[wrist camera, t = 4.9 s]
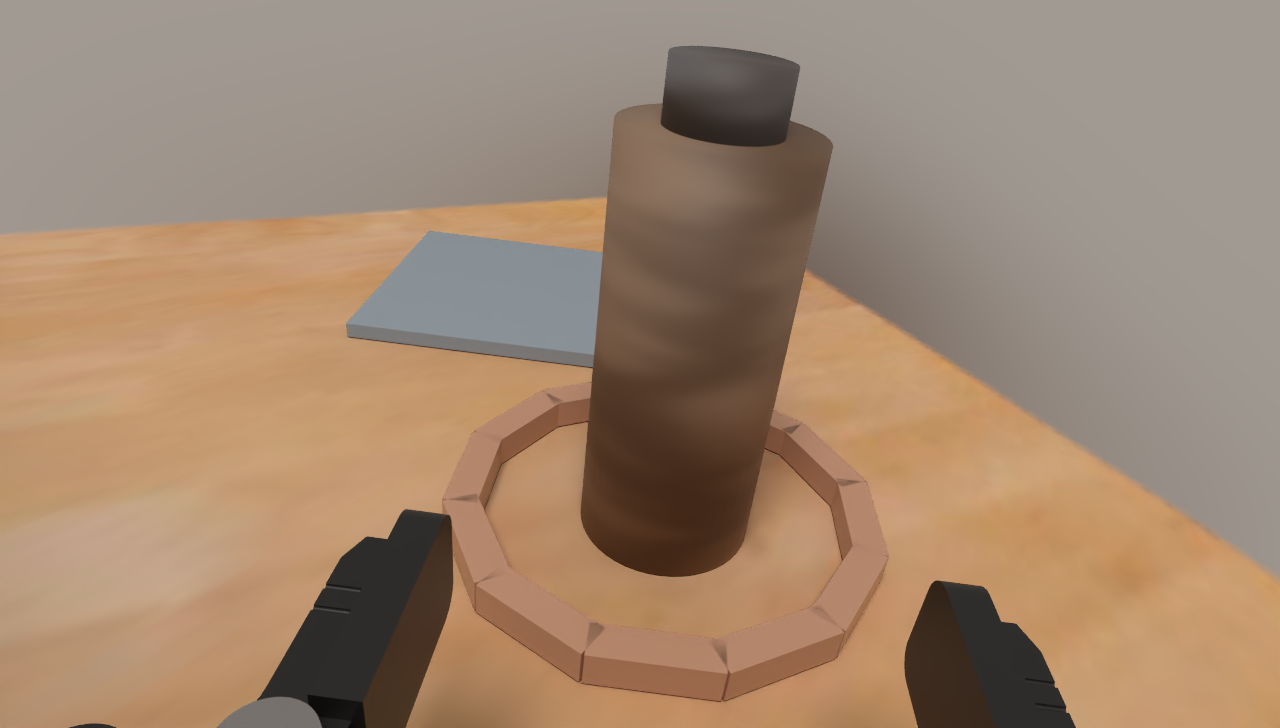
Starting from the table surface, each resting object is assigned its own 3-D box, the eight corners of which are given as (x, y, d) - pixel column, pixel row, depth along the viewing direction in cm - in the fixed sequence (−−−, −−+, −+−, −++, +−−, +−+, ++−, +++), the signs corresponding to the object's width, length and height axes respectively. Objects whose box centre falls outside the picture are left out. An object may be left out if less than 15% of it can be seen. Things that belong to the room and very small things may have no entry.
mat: (347, 336, 32) (346, 323, 32) (429, 241, 41) (429, 230, 41) (612, 369, 32) (613, 357, 31) (633, 266, 41) (634, 256, 41)
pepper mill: (569, 563, 22) (608, 61, 15) (592, 455, 27) (630, 30, 20) (749, 587, 22) (869, 93, 15) (741, 474, 27) (831, 55, 20)
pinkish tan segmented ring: (385, 657, 19) (383, 629, 18) (504, 382, 30) (505, 360, 30) (918, 727, 19) (931, 700, 18) (838, 424, 30) (844, 403, 29)
